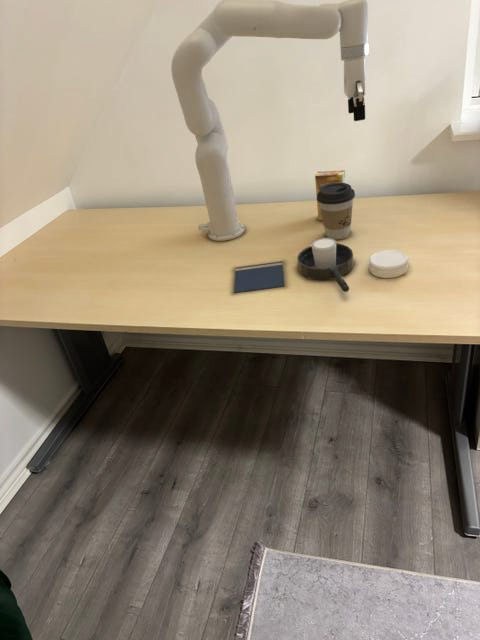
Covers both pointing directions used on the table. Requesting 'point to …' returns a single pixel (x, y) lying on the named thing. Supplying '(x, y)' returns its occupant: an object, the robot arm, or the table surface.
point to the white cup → (324, 252)
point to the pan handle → (339, 279)
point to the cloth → (259, 277)
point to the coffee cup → (336, 209)
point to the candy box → (327, 182)
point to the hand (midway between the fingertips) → (356, 116)
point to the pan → (310, 271)
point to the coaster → (388, 263)
